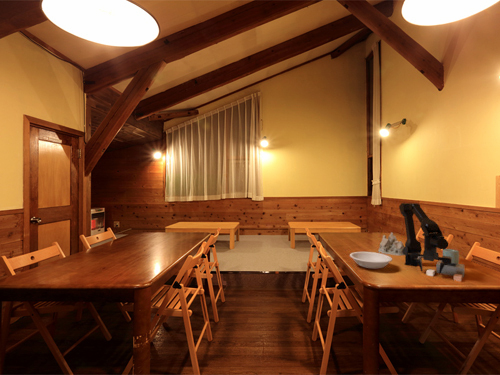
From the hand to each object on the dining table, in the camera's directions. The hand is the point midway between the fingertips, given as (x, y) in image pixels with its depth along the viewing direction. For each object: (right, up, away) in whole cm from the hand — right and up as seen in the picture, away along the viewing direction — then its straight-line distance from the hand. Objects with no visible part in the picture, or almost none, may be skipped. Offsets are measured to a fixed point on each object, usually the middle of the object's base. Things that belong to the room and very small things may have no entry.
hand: (430, 272), depth 144 cm
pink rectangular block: (+9, -1, -8) cm, 12 cm away
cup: (+22, -1, +14) cm, 26 cm away
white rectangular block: (0, -1, 0) cm, 1 cm away
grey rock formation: (+4, -1, +48) cm, 48 cm away
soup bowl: (-27, -2, +15) cm, 31 cm away
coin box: (+13, -1, +2) cm, 13 cm away
